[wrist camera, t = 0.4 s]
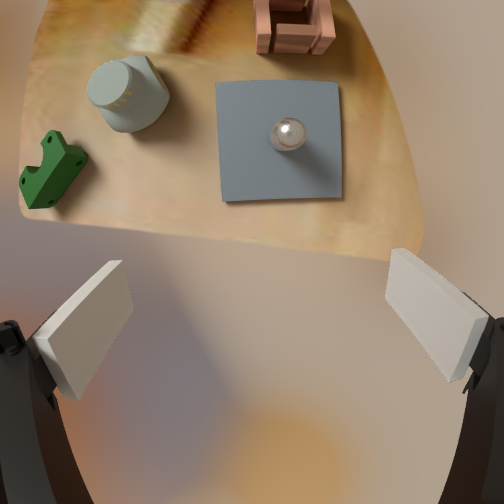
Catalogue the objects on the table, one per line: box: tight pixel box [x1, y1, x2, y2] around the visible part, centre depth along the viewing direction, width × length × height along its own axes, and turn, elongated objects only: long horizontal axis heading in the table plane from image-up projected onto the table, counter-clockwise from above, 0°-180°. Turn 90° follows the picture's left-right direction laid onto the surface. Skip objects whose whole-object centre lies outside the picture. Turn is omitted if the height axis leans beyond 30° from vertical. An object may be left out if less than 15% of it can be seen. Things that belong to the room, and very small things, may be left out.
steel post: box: [268, 117, 307, 151], centre depth 30 cm, size 4×4×10 cm
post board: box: [216, 80, 342, 202], centre depth 35 cm, size 16×16×1 cm
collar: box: [253, 0, 336, 55], centre depth 27 cm, size 9×9×7 cm
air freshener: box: [87, 55, 170, 133], centre depth 28 cm, size 11×8×10 cm
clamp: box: [19, 130, 87, 209], centre depth 33 cm, size 12×6×9 cm, turn 123°
